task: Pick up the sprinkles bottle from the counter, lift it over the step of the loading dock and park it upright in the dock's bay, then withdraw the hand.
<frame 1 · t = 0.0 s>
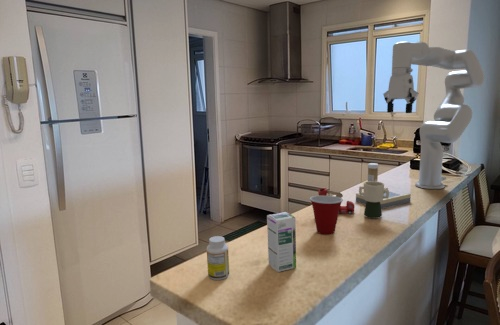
hand: (399, 112, 155), 37 cm above the kitchen counter, tool pointing down, fingers open, 9 cm apart
sprinkles bottle: (372, 192, 166), on the kitchen counter
toy fire truck: (336, 213, 139), on the kitchen counter
supplement bottle: (218, 276, 93), on the kitchen counter
plastic cup: (325, 232, 120), on the kitchen counter
loading dock: (382, 201, 151), on the kitchen counter
character mug: (372, 217, 133), on the kitchen counter
syrup box: (281, 266, 97), on the kitchen counter
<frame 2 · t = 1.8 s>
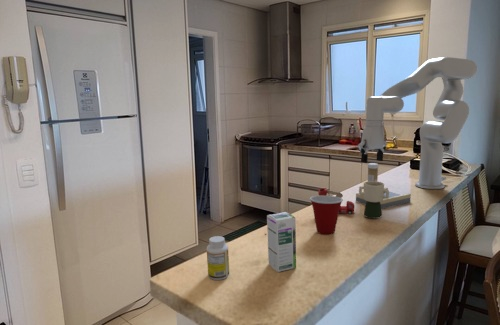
hand: (371, 161, 163), 14 cm above the kitchen counter, tool pointing down, fingers open, 9 cm apart
nothing on the kitchen counter moved.
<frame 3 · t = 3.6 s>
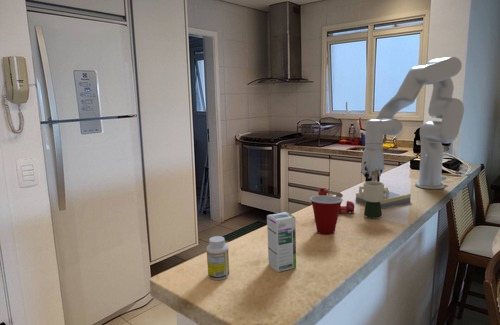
hand: (372, 184, 166), 3 cm above the kitchen counter, tool pointing down, fingers closed on sprinkles bottle, 4 cm apart
sprinkles bottle: (372, 192, 166), on the kitchen counter, touching gripper
everything else where it was.
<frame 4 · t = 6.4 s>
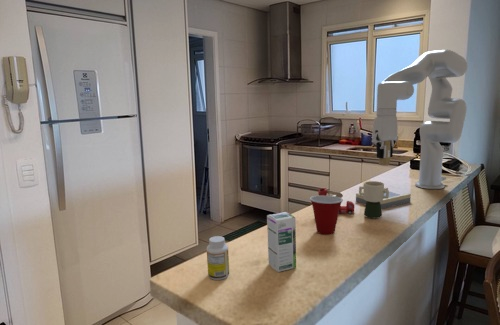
hand: (384, 156, 148), 19 cm above the kitchen counter, tool pointing down, fingers closed on sprinkles bottle, 4 cm apart
sprinkles bottle: (384, 165, 148), point 16 cm above the kitchen counter, touching gripper
everything else where it was.
when the fingers open (6 cm above the kitchen counter, at t = 9.2 s): sprinkles bottle stays where it is, resting on loading dock.
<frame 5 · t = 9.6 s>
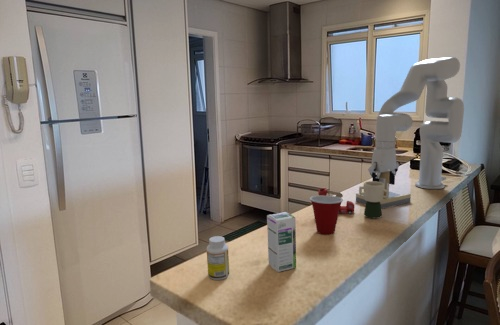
hand: (383, 185, 150), 7 cm above the kitchen counter, tool pointing down, fingers open, 8 cm apart
sprinkles bottle: (383, 197, 151), point 2 cm above the kitchen counter, touching loading dock
everything else where it was.
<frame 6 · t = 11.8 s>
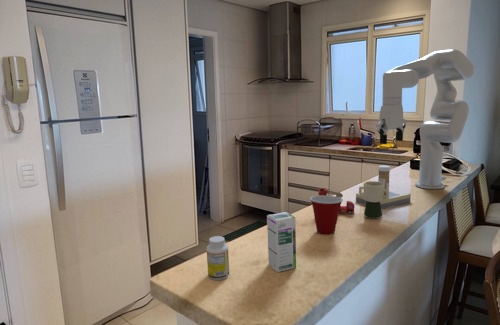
hand: (391, 142, 151), 25 cm above the kitchen counter, tool pointing down, fingers open, 9 cm apart
nothing on the kitchen counter moved.
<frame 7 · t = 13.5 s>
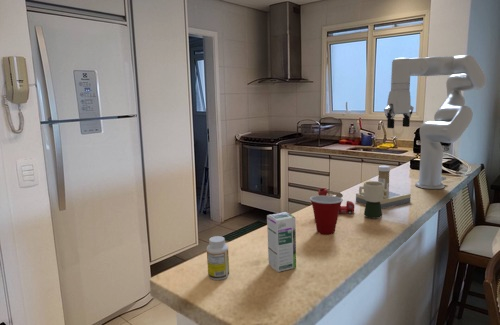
hand: (398, 127, 156), 30 cm above the kitchen counter, tool pointing down, fingers open, 9 cm apart
nothing on the kitchen counter moved.
at the end: sprinkles bottle inside the target area on the loading dock (0.1 cm from its centre), point 1.8 cm above the loading dock's base; sprinkles bottle tilted 0°; the gripper is holding nothing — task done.
